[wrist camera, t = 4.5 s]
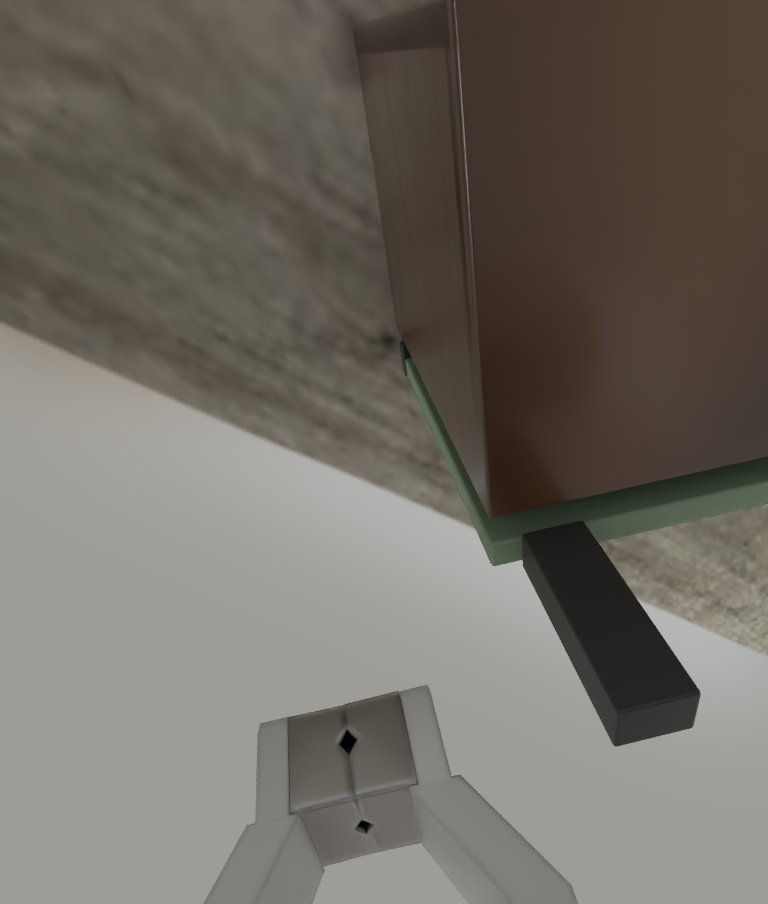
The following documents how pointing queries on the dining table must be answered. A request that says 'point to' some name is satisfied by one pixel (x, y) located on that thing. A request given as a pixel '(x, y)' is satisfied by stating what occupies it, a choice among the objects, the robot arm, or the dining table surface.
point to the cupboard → (578, 233)
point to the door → (606, 579)
